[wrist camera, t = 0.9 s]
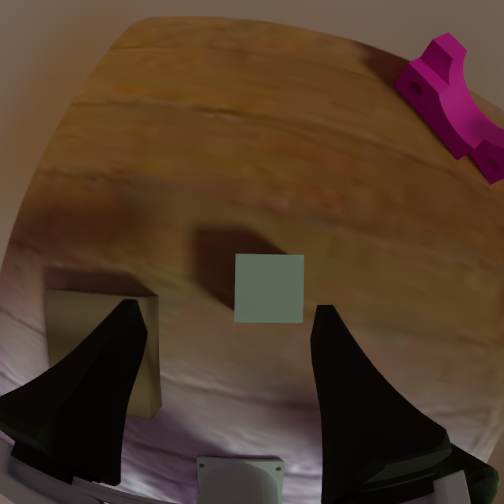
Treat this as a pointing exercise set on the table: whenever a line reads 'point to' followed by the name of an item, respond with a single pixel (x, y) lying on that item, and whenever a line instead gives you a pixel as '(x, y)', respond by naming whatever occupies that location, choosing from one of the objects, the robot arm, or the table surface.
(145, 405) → the base block
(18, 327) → the table surface
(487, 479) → the potion bottle
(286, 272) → the gray cube
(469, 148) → the toy block
